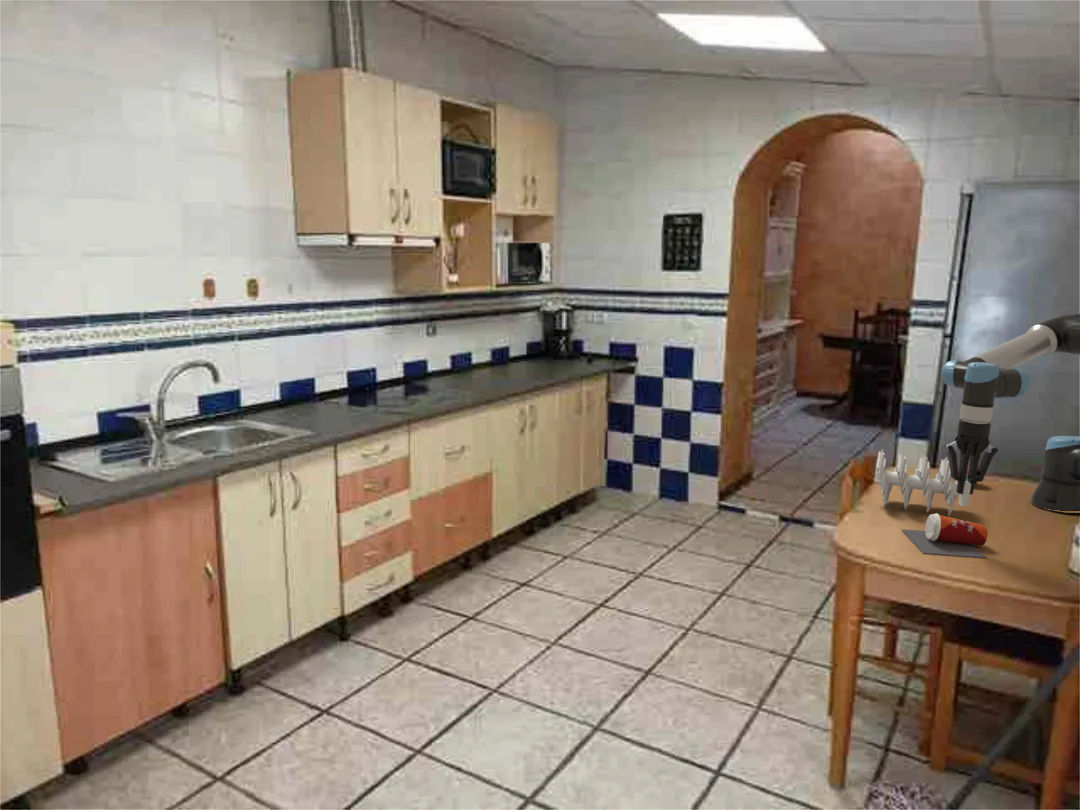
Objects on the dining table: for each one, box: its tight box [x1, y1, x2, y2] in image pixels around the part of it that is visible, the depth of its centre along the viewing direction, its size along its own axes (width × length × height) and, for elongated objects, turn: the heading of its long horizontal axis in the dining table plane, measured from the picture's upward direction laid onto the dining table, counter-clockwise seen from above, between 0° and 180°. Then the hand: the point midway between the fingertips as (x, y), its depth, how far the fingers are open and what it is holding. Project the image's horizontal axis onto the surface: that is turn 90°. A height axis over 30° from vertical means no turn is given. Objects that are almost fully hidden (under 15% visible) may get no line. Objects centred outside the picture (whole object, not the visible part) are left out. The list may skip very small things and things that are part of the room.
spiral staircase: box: [874, 448, 959, 517], centre depth 247 cm, size 18×18×25 cm
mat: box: [900, 528, 987, 559], centre depth 220 cm, size 16×18×1 cm
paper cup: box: [924, 513, 989, 546], centre depth 220 cm, size 8×8×14 cm
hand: (962, 505), depth 218 cm, fingers closed
